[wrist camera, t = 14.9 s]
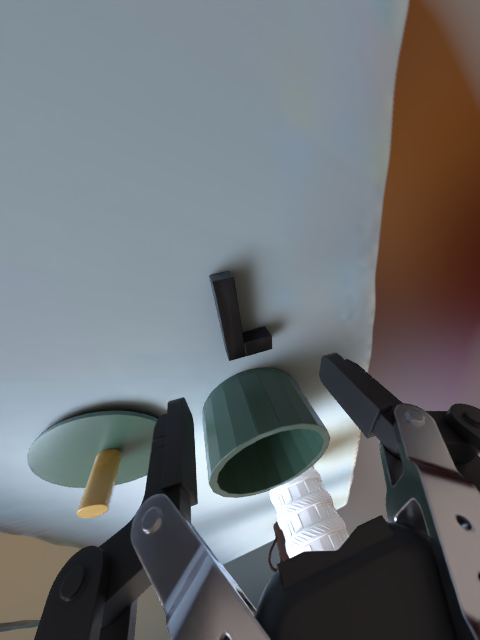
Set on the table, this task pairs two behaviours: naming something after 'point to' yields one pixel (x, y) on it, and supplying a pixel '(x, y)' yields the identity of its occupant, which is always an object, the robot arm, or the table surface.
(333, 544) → the decorative container
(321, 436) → the tin
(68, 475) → the tin lid
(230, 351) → the hex key
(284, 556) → the coffee mug
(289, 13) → the table surface
